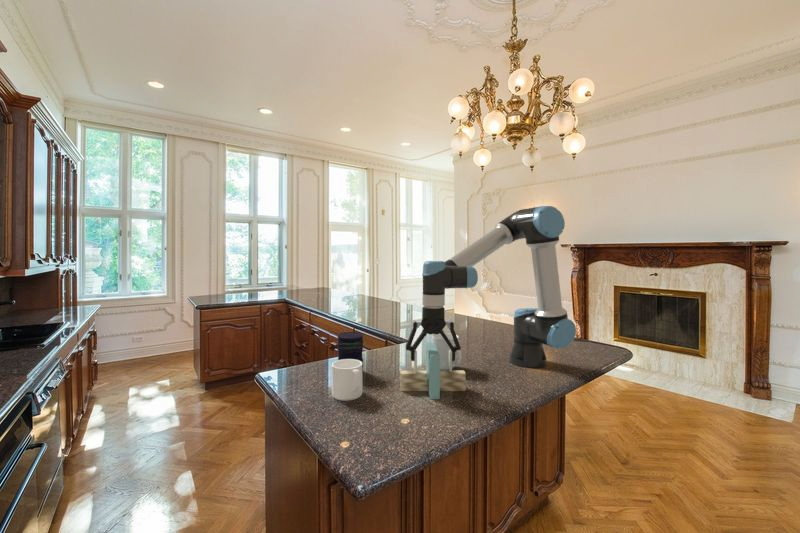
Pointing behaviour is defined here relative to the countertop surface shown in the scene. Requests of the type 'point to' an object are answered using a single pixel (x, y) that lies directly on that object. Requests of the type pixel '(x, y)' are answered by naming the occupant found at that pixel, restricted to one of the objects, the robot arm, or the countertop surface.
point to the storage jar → (350, 346)
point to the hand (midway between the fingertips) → (432, 370)
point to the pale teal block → (433, 370)
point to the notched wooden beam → (419, 381)
